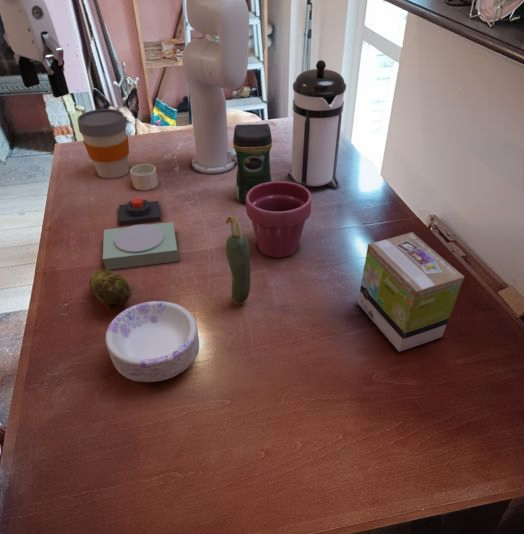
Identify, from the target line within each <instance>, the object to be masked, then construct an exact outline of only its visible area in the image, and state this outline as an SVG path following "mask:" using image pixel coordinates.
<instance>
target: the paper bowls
mask: <svg viewBox="0 0 524 534" xmlns="http://www.w3.org/2000/svg"><path fill="white" fill-rule="evenodd" d="M106 329H107V330H106V332H105V340H104V341H105V345H106V348H107V351H108V353H109V356H110V359H111V362H112V365H113V367H114V368H115V369H116V370H117V372H118V373H119V374H120V375H122V376H123V377H125V378H127V379H128V380H131V381H135V382H139V383H140V382H143V383H152V382H153V383H155V382H162V381H165V380H168V379H171V378H174V377H176V376H177V375H179V374H181V373H183V372H184V371H185V370H187V369H188V368H189V367H190V366H191V365H192V363H193V362H195V360H196V359H197V356H198V354H199V350H200V339H199V331H198V326H197V321H196V318H195V317H194V316H193V314H192V313H191V312H190V311H189V310H187V308H185V307H184V306H182V305H180V304H177V303H175V302H170V301H164V300H153V301H152V300H150V301H145V302H141V303H138V304H135V305H131V306H129V307H128V308H126V309H124V310H123V311H121V312H120V313H119V314H117V315H116V316H115V317H114V319H112V321H111V322H110V323H109V325H108V327H107V328H106Z"/></svg>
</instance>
